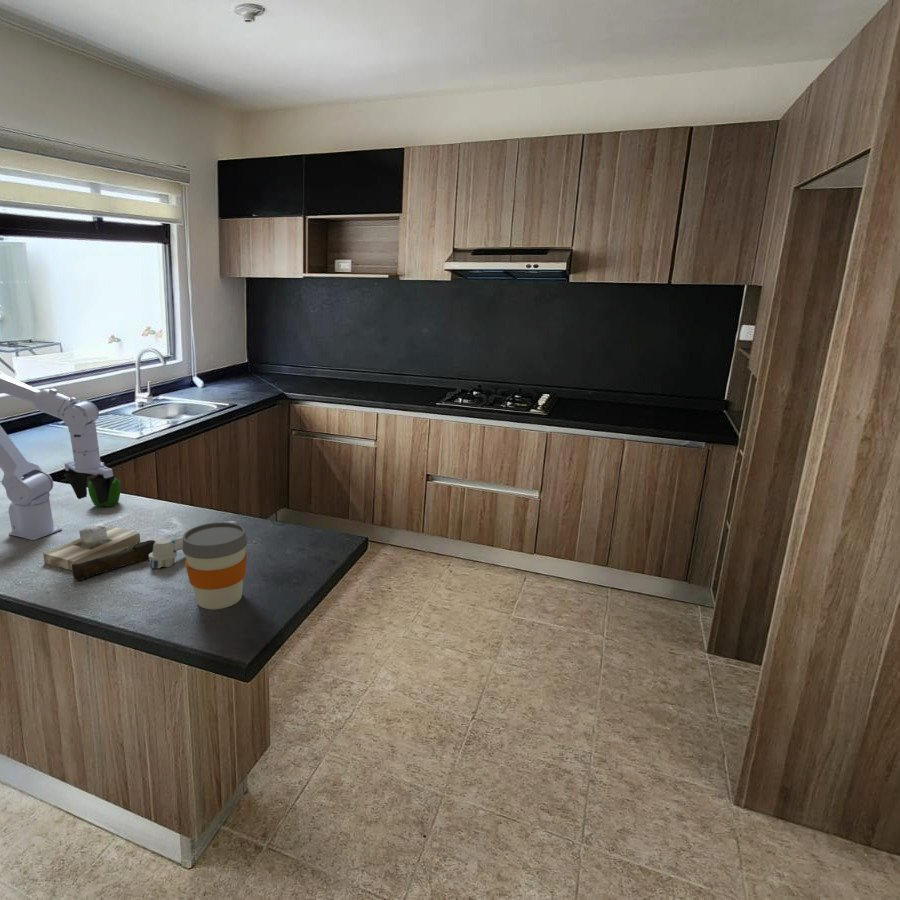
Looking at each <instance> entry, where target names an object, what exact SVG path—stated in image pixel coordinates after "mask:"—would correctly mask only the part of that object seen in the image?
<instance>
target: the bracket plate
mask: <svg viewBox="0 0 900 900" xmlns="http://www.w3.org/2000/svg"><path fill="white" fill-rule="evenodd" d="M106 531H107V538H108V543H105V544H103V545H101V546H98V547H96V548H94V549H87V548H83V547H82V546H81V539H80V538H78V539H75V540H72V541H70V542H68V543H65V544H63V545H61V546H58V547H56V548H54V549H50V550H48V551H46V552H44V553H42V554H43V560H44V564H46V563H47V565H50V564H51V566H54V567H57V566H58V568H61V567H62V569H65V570H68V569H69V571H72V564H80V563H84V562H86V561H91V560H94V559H97V558H102V557H105V556H108V555H112V554H114V553H116V552H117V553H118V552H122V551H124V550H125V548H126V549H128V548H130V547H133V545H135V544H136V543H141V542H140V541H141V535H140V534H141V533H140V532H139V531H134V530H131V529H130V530H129V529H126V528H120V527H116V526H108V527H106ZM129 546H130V547H129ZM127 547H128V548H127Z"/></svg>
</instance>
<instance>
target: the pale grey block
mask: <svg viewBox="0 0 900 900" xmlns="http://www.w3.org/2000/svg"><path fill="white" fill-rule="evenodd" d="M106 528H107V527H104V526H101V525H96V524H92V525H90V526H88V527H85V528H82V529H80V530H78V531H79V539H81V546H82V547H83V548H87V549H94V548H96V547H98V546H101V545H103V544H105V543H108V538H107V531H106Z"/></svg>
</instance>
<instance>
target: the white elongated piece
mask: <svg viewBox="0 0 900 900" xmlns="http://www.w3.org/2000/svg"><path fill="white" fill-rule="evenodd" d="M221 522H225V521H221ZM227 522H230V523H236V524H239V525H241V524H240V522H239V521H238V520H234V519H233V520H229V521H227ZM155 541H156V542H155V543H154V546H153V552H152V553H150V554H149V559H150V560H149V561H150V567H151V568H153V569H160V568H161V567H163V568H169V567H170V568H171V567H172V566H173V565H174V564H176V557H177V556H178V551H181V550H182V551H183V535H181V536H177V537H175V538H171V539H169V538H163V539H158V540H155Z"/></svg>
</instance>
